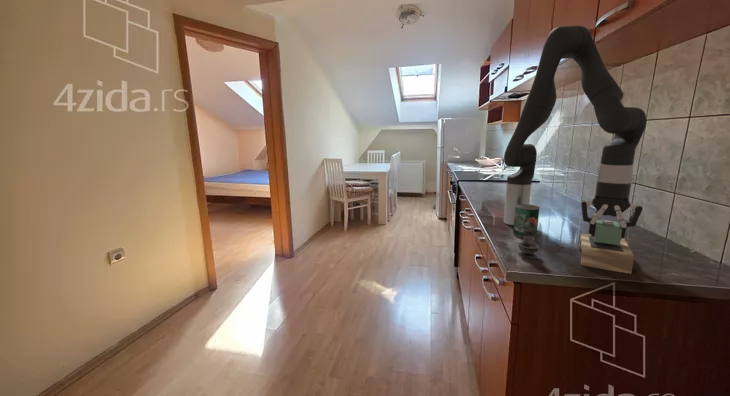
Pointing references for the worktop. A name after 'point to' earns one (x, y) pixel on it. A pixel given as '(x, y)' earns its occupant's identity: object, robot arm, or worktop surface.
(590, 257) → the stand
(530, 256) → the grey chess piece
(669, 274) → the worktop surface
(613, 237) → the housing
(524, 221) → the canned tomato
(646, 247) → the worktop surface
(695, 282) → the worktop surface
